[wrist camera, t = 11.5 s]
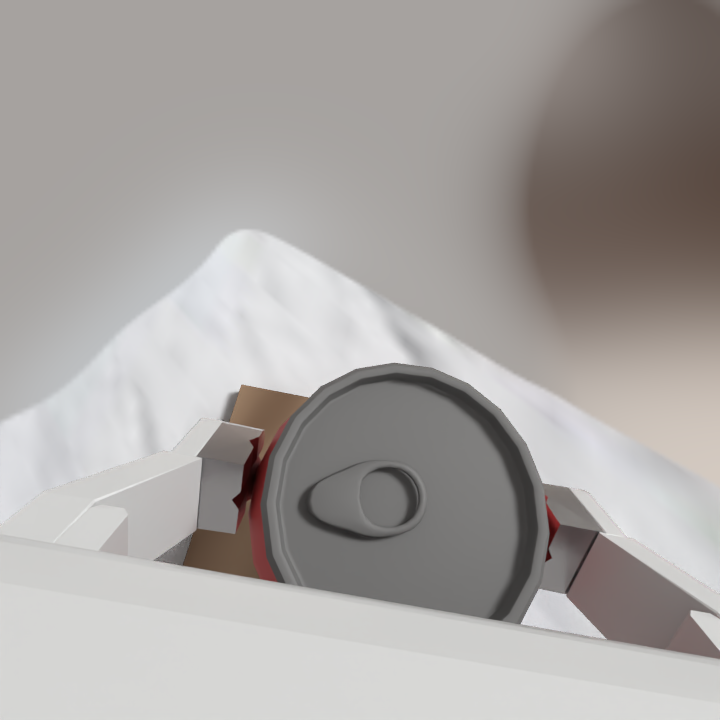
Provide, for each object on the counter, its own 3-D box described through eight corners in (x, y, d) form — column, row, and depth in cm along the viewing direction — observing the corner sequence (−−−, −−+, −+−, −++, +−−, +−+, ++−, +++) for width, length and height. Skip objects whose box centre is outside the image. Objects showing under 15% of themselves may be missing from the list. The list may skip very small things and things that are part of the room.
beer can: (279, 454, 19) (241, 340, 8) (407, 448, 20) (527, 339, 9) (276, 611, 16) (212, 758, 5) (425, 595, 17) (631, 692, 6)
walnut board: (474, 434, 26) (480, 430, 25) (469, 694, 20) (476, 701, 19) (243, 390, 25) (241, 384, 24) (162, 644, 19) (155, 649, 18)
